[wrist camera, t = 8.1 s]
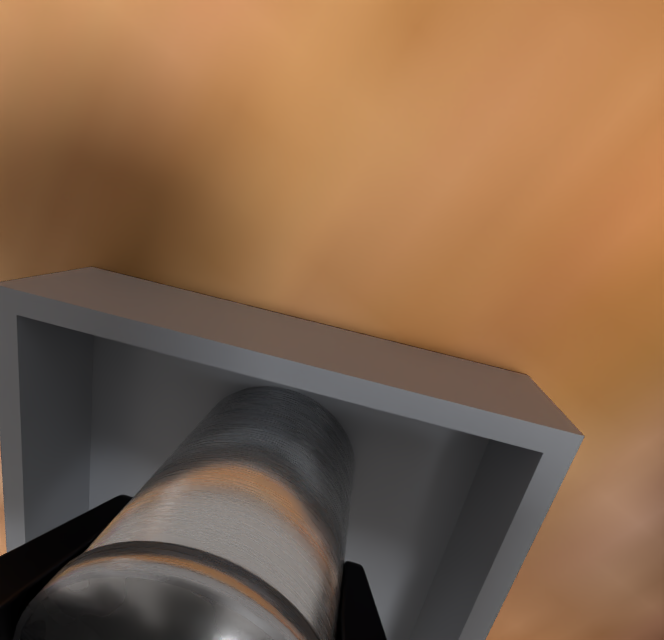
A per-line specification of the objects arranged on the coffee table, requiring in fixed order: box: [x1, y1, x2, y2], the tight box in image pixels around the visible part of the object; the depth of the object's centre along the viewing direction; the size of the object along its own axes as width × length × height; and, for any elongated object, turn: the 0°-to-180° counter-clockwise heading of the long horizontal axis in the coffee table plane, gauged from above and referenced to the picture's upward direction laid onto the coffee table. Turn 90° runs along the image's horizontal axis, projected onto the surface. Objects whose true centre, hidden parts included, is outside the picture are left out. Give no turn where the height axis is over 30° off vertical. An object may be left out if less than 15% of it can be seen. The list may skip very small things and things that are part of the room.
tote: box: [0, 267, 584, 640], centre depth 12 cm, size 13×16×3 cm
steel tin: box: [13, 386, 355, 640], centre depth 9 cm, size 5×5×6 cm
